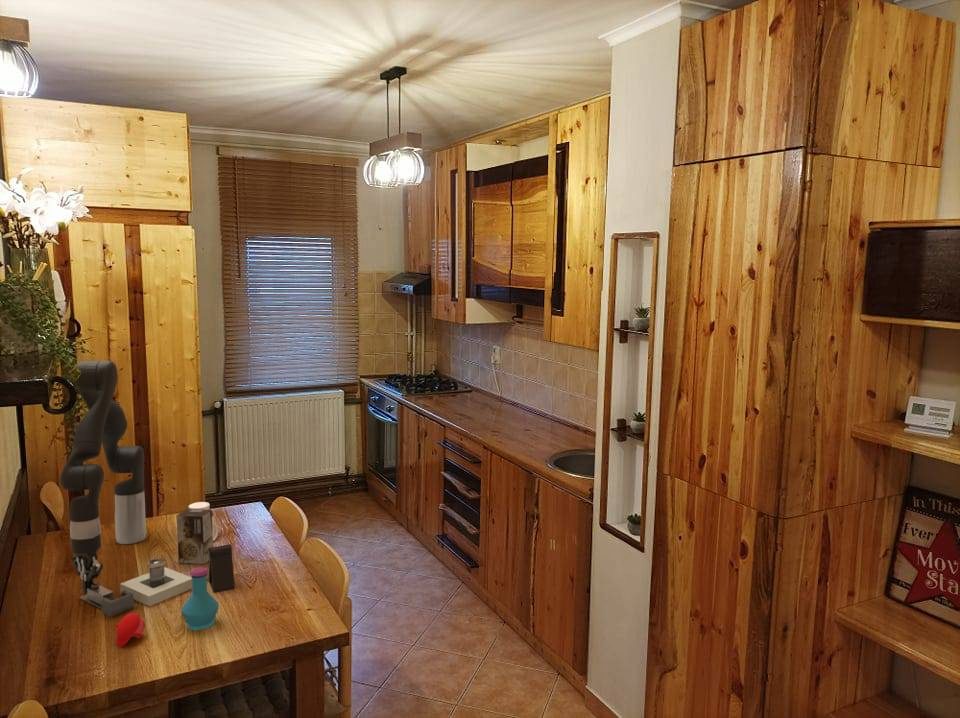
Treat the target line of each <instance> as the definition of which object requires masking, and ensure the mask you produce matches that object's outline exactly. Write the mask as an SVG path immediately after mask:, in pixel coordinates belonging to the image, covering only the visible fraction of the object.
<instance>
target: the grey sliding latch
mask: <svg viewBox="0 0 960 718" xmlns="http://www.w3.org/2000/svg"><path fill="white" fill-rule="evenodd" d="M78 599H80V600H82V601H85V602H86V603H88V604H90V605H93V606H95V607H96V608H98V609H100V610H102V611H101V612H102V614H104V615H105V616H107V617H110V618H112V617H114V616H116V615H118V614H122V613H123V612H126V611H129V610H131V609H134V608H135V600H134V597H133V593H130V592H128V591H126V590H124V591H122V594H121V596H119V597H117V598H114V600H112V601H111V600H109V599H107V598H103V599H102V605H100V604H98V603H96V602H94V601H92V600H90V599H88V595H87V594H85V595H82V596H79V597H78Z"/></svg>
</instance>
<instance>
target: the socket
mask: <svg viewBox="0 0 960 718" xmlns="http://www.w3.org/2000/svg"><path fill="white" fill-rule="evenodd" d="M164 574H165V584H163V585H161V586H158V587H156V588H151V587H150V578H149V572H148V573H145V574H143V575H140V576H137V577H134V578H131V579H129V580H125V581H124V582H121V583H119V584H120V594H121V595H122V591H124V590H126V591H128V592H130V593H133V597H134V601H136V602H138V603H140V604H144V605H145V606H148V607H151V606H154V605H156V604H158V603H161V602H163V601H165V600H168V599H171V598H173V597H175V596H177V595H180V594H183V593H184V592H187V591H190V590H193V588H192V577H191V576H189V575H186V574H183V573H181V572H178V571H176V570H173V569H171V568H168V567H166V566H164Z"/></svg>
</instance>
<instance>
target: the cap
mask: <svg viewBox="0 0 960 718" xmlns="http://www.w3.org/2000/svg"><path fill="white" fill-rule="evenodd" d="M145 626H146V624H145V621H144V619H143V618H141V617H140V614H137V613H134V612H131V613H129V614H126V615H124V616H123V618H122V619H121V620H120V621H119V622H118V623H117V624H116V641H115V643H116V646H117V647H118V648H119V647H120V648H121V647H123V646H126V645H127V643H128V642H129V641H130V639H131V637H136V638H138V639H142V637H143V635H144V631H145Z"/></svg>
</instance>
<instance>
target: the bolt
mask: <svg viewBox="0 0 960 718" xmlns="http://www.w3.org/2000/svg"><path fill="white" fill-rule="evenodd" d="M86 595H88V599H90V600H92V601H94V602H96V603H98V604H100V605H102V599H103V598H107V599H109V600H111V601H112V600H114V599H115V596H114V591H113V590H110V589H108V588H107V587H104V586H102V585H100V582H97V581H96V582H93V583H92V584H91V587H90V588H87V593H86Z"/></svg>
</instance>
